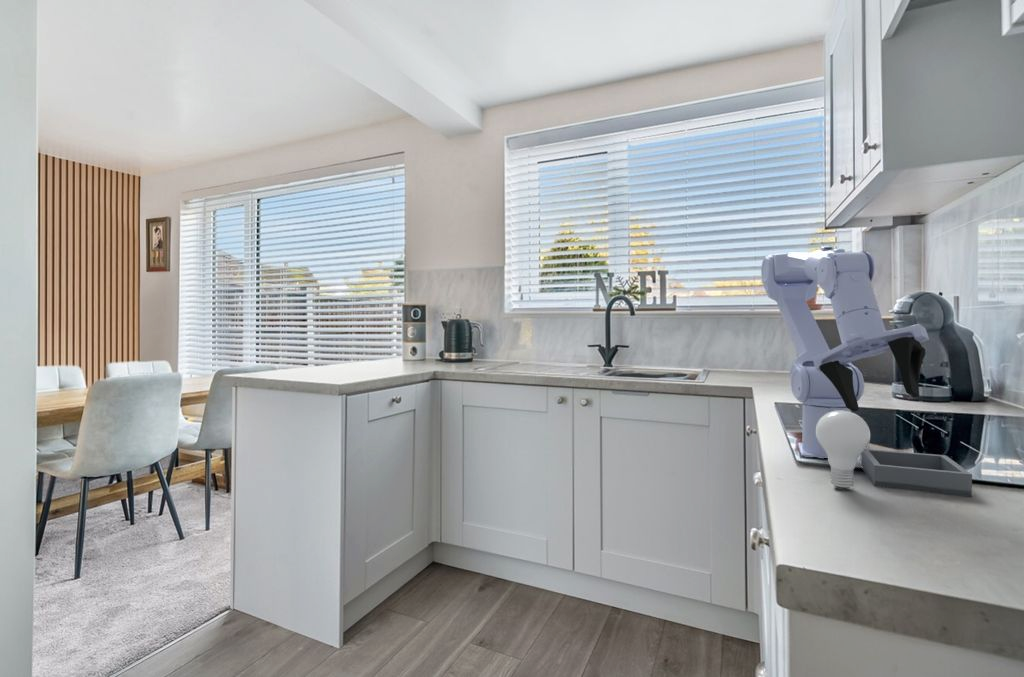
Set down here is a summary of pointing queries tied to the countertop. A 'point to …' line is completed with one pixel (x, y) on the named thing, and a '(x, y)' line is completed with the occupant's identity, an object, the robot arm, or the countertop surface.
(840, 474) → the lightbulb
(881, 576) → the countertop surface
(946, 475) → the tray
